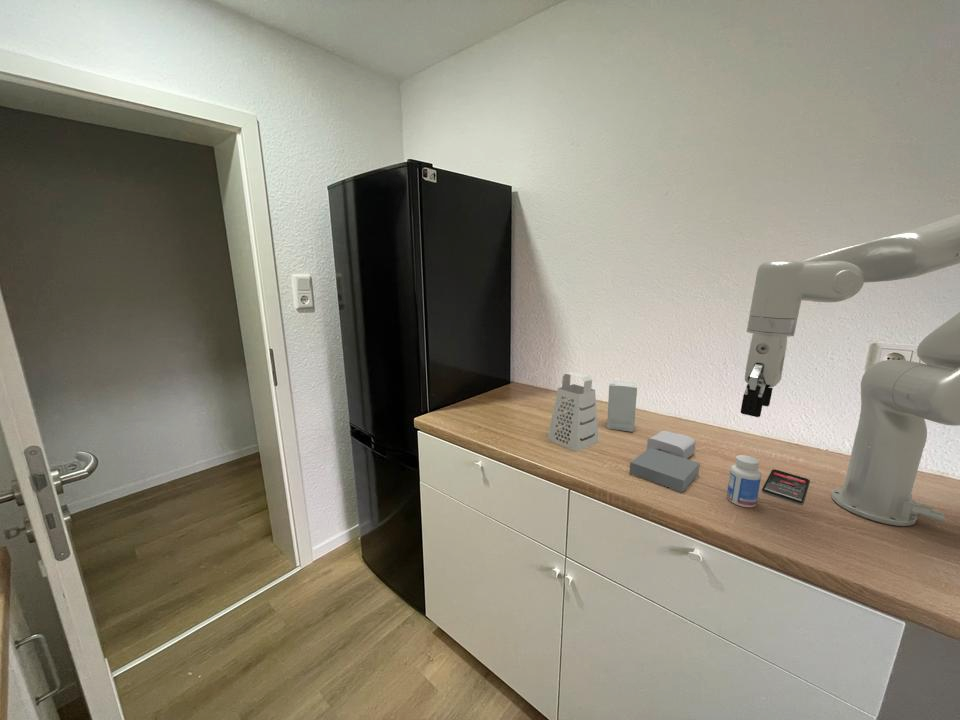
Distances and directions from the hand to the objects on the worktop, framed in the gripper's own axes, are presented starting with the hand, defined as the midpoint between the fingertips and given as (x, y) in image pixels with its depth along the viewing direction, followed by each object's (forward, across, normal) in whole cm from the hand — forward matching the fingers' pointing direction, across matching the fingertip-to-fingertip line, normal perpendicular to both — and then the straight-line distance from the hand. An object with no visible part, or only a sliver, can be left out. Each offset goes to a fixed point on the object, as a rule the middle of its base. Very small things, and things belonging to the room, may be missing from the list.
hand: (755, 409), depth 78 cm
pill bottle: (+21, 0, 0) cm, 21 cm away
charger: (+21, +16, +18) cm, 33 cm away
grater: (+21, +1, +42) cm, 47 cm away
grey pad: (+21, 0, +16) cm, 26 cm away
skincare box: (+21, +21, +36) cm, 47 cm away
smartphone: (+21, +15, -6) cm, 27 cm away
